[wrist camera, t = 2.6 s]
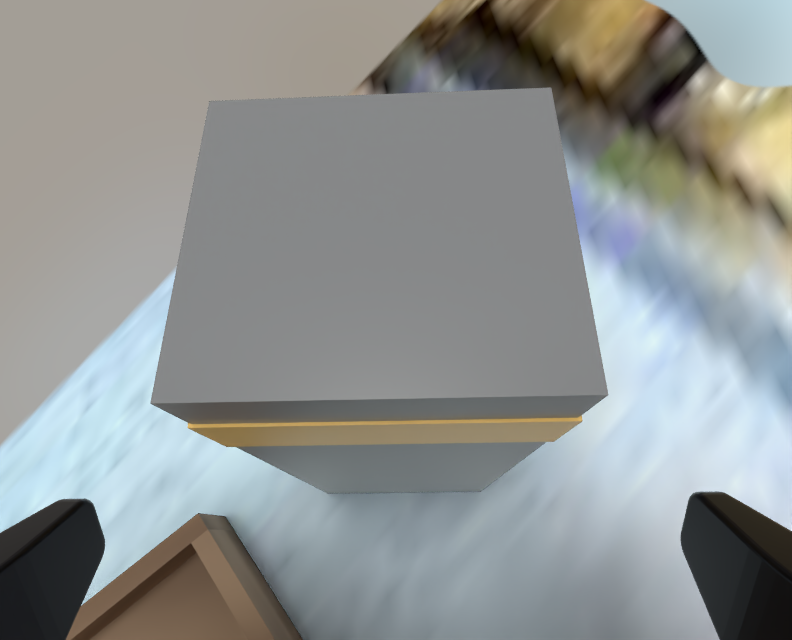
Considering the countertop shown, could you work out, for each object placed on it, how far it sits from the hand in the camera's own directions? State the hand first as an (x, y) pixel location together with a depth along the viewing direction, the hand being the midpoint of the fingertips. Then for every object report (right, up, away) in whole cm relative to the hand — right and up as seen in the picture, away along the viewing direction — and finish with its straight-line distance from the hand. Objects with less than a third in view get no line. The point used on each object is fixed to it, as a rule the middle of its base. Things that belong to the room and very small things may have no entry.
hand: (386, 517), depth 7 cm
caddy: (0, -1, +11) cm, 11 cm away
